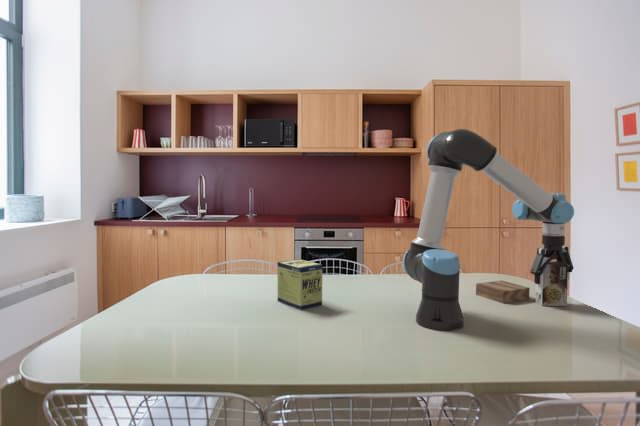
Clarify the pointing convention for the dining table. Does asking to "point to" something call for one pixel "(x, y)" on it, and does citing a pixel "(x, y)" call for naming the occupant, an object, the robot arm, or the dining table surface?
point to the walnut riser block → (502, 291)
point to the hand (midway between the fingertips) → (551, 290)
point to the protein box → (300, 283)
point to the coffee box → (554, 285)
